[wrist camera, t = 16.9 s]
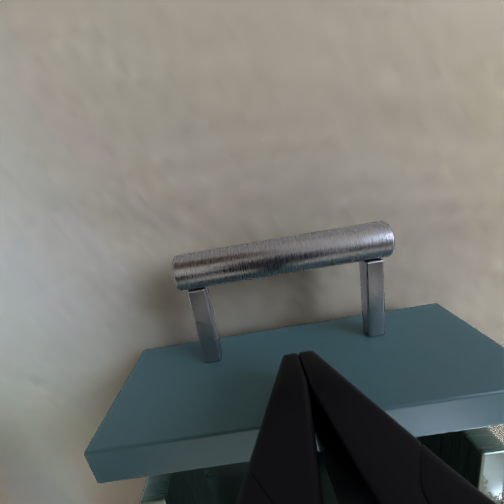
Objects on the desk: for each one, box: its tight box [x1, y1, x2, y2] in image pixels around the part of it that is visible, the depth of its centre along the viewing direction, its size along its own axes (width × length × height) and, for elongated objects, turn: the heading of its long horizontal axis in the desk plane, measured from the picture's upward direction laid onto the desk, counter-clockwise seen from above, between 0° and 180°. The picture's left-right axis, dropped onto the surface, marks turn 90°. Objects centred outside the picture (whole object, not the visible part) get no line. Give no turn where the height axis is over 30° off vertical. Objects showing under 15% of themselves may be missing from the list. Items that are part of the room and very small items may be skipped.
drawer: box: [84, 221, 504, 504], centre depth 10 cm, size 17×12×4 cm
